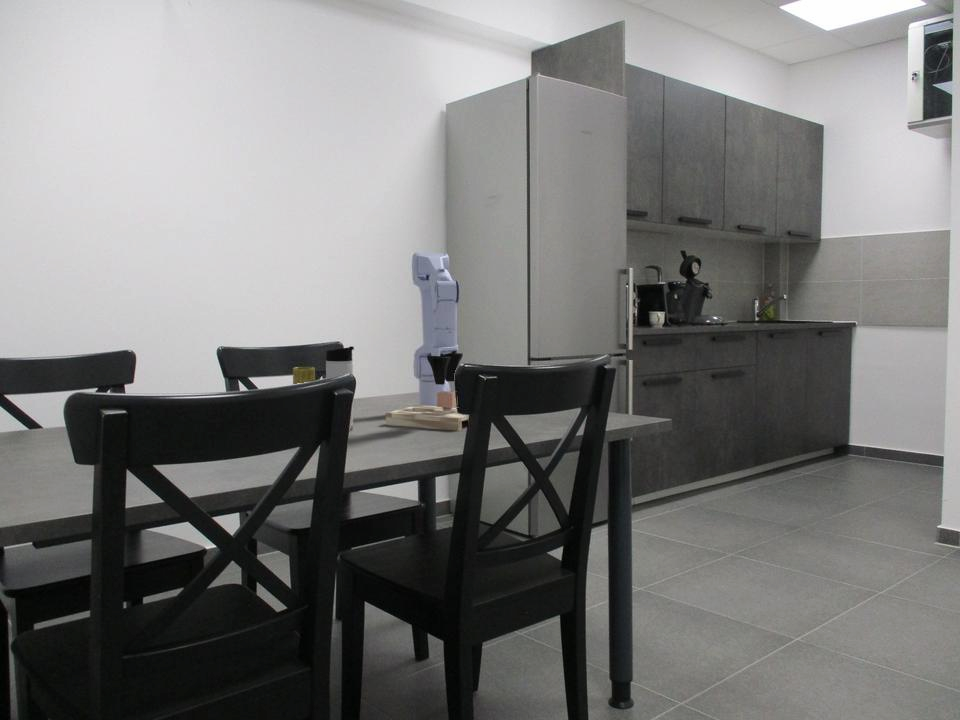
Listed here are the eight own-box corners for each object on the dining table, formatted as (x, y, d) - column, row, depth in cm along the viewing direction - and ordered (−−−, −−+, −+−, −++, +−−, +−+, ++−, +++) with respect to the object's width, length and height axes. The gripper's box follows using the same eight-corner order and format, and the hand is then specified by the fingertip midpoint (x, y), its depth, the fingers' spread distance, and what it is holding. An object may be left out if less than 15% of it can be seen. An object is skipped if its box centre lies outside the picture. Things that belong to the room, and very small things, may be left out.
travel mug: (351, 432, 189) (351, 347, 188) (324, 431, 189) (323, 347, 188) (356, 427, 195) (356, 345, 194) (329, 427, 195) (328, 345, 194)
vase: (322, 424, 200) (321, 367, 199) (304, 427, 195) (303, 369, 194) (304, 422, 203) (303, 366, 202) (286, 425, 198) (285, 368, 197)
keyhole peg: (440, 422, 205) (441, 391, 204) (458, 423, 203) (459, 391, 203) (434, 425, 200) (435, 393, 199) (453, 426, 199) (453, 393, 198)
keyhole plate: (416, 416, 214) (416, 405, 214) (485, 421, 206) (485, 409, 206) (385, 424, 200) (385, 412, 200) (458, 430, 192) (458, 418, 192)
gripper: (440, 327, 208) (440, 379, 210) (419, 329, 195) (419, 385, 196) (466, 327, 206) (465, 380, 207) (447, 330, 193) (446, 386, 194)
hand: (445, 382), depth 201 cm, fingers open, 7 cm apart
